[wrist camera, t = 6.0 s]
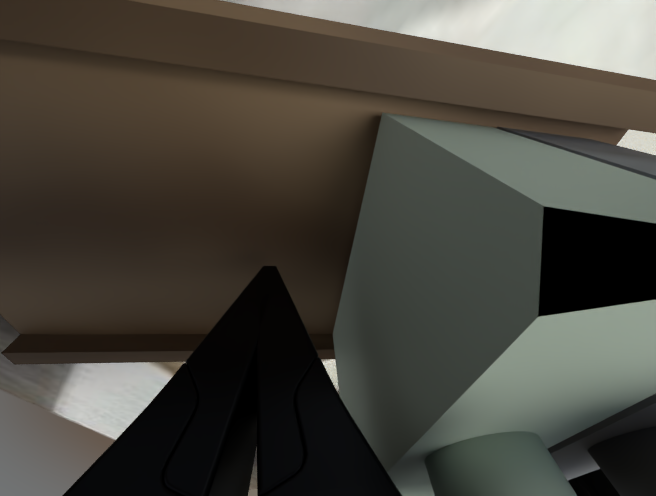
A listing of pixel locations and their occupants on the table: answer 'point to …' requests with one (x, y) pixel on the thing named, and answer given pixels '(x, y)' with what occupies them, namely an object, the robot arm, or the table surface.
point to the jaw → (492, 306)
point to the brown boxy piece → (245, 171)
